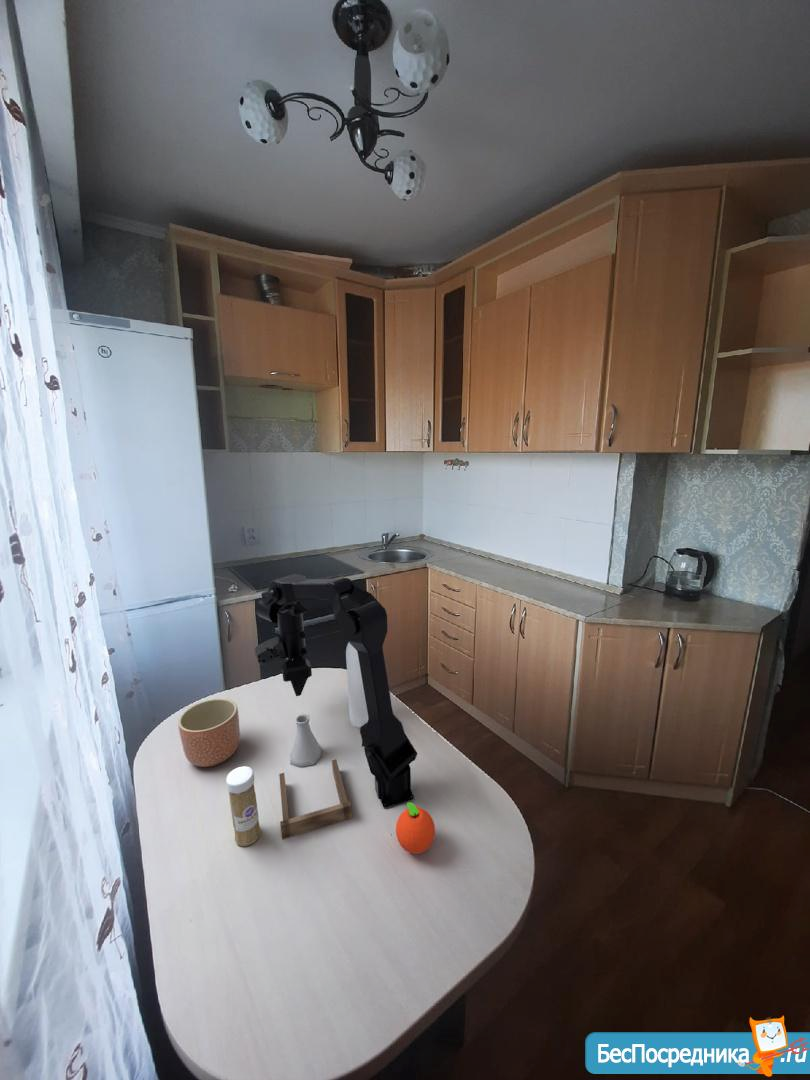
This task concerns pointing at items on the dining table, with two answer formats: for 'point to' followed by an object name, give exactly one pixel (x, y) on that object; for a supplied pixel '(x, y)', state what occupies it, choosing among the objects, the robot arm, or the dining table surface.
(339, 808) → the bay
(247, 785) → the sprinkles bottle
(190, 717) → the planter
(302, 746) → the flask
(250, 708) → the dining table surface
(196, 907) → the dining table surface
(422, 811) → the clementine
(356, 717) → the bottle
